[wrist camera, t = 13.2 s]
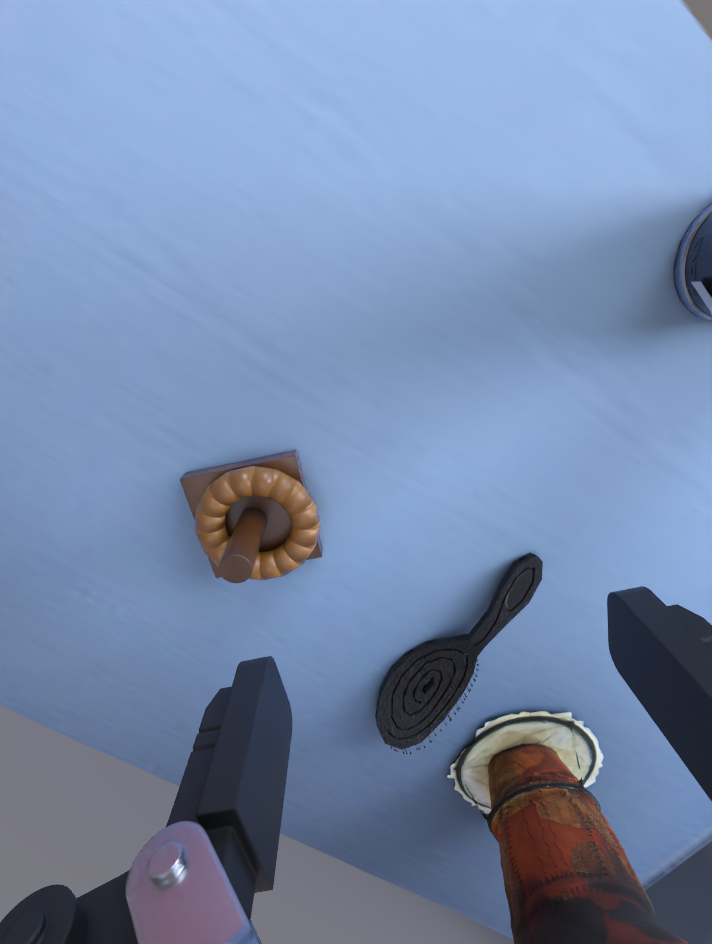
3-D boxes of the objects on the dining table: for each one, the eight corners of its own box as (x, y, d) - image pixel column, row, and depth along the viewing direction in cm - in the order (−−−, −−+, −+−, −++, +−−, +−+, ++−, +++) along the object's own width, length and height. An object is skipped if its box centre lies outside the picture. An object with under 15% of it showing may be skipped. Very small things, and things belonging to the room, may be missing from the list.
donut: (302, 451, 39) (300, 460, 37) (331, 556, 43) (331, 571, 41) (182, 477, 40) (173, 488, 37) (221, 580, 43) (215, 595, 41)
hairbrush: (581, 590, 44) (424, 769, 49) (562, 570, 47) (418, 739, 53) (513, 547, 42) (358, 738, 47) (499, 530, 45) (356, 710, 51)
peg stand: (296, 449, 41) (285, 492, 32) (322, 548, 44) (319, 612, 35) (184, 473, 41) (143, 522, 32) (219, 569, 45) (190, 637, 36)
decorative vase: (394, 802, 57) (444, 1235, 31) (504, 668, 50) (687, 1074, 24) (532, 850, 61) (679, 1267, 35) (649, 732, 54) (941, 1138, 28)
